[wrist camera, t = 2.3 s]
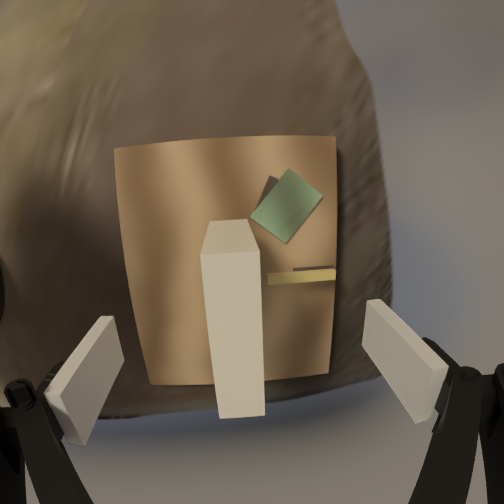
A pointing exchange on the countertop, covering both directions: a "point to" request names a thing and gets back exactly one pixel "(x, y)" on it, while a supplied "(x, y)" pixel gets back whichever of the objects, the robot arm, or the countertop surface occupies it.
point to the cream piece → (239, 314)
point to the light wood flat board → (193, 234)
